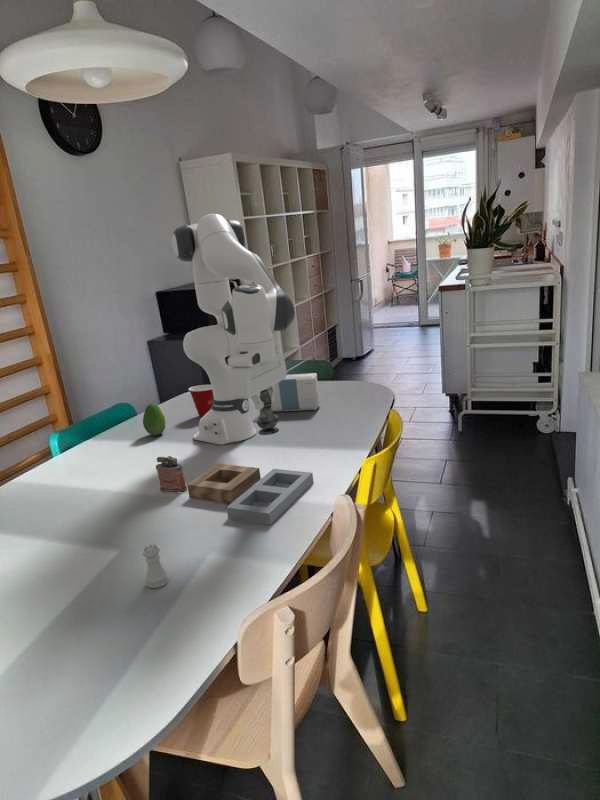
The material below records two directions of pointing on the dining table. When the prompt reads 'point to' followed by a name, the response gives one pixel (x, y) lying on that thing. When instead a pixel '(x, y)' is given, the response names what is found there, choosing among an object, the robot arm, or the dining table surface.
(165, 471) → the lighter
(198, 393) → the plastic cup
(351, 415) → the dining table surface
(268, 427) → the grey chess piece
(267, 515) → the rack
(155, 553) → the rook chess piece
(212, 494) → the socket block
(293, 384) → the teal banded white box
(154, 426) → the avocado
